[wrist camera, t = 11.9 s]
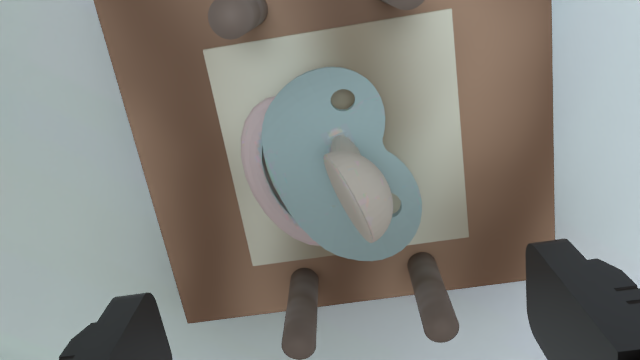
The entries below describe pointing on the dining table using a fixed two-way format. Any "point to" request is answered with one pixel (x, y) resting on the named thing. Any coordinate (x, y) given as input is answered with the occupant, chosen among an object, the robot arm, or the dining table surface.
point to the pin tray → (372, 63)
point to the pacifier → (330, 167)
